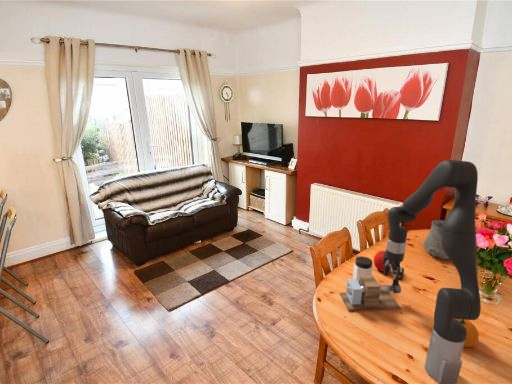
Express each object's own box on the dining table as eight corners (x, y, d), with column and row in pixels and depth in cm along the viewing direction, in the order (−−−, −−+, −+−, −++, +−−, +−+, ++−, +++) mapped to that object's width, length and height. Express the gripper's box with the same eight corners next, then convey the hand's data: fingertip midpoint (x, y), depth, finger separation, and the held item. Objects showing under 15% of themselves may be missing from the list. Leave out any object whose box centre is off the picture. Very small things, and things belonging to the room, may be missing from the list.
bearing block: (400, 309, 134) (404, 287, 131) (348, 311, 133) (351, 289, 129) (388, 292, 146) (391, 272, 142) (340, 294, 144) (342, 274, 141)
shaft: (395, 289, 141) (396, 281, 139) (400, 295, 136) (401, 286, 135) (345, 290, 140) (346, 282, 138) (348, 297, 135) (349, 288, 134)
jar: (362, 287, 150) (365, 266, 146) (349, 279, 156) (351, 259, 153) (373, 281, 155) (376, 261, 151) (360, 274, 161) (362, 254, 158)
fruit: (434, 333, 120) (439, 313, 117) (453, 325, 125) (458, 305, 122) (463, 355, 110) (469, 333, 107) (483, 345, 115) (489, 324, 112)
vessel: (411, 251, 185) (416, 221, 179) (433, 243, 195) (438, 215, 189) (446, 267, 167) (453, 235, 161) (468, 258, 177) (475, 227, 171)
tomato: (390, 265, 169) (393, 248, 166) (394, 275, 160) (397, 257, 156) (371, 263, 172) (373, 246, 169) (373, 272, 162) (376, 255, 159)
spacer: (360, 304, 135) (362, 289, 132) (351, 304, 134) (353, 289, 132) (354, 293, 142) (355, 278, 140) (345, 293, 142) (347, 279, 140)
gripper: (412, 257, 125) (406, 289, 130) (395, 241, 138) (391, 271, 143) (395, 257, 124) (389, 290, 129) (380, 241, 138) (375, 271, 143)
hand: (390, 280), depth 136 cm, fingers open, 8 cm apart
